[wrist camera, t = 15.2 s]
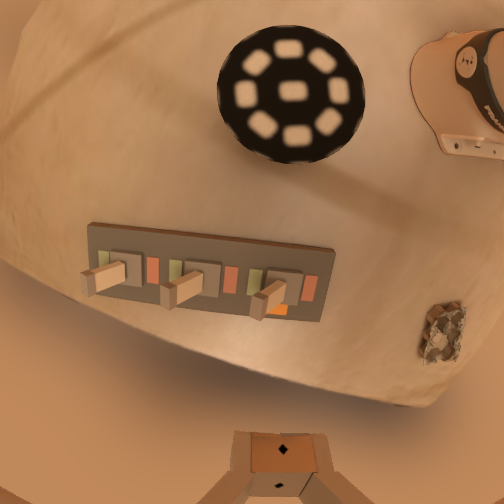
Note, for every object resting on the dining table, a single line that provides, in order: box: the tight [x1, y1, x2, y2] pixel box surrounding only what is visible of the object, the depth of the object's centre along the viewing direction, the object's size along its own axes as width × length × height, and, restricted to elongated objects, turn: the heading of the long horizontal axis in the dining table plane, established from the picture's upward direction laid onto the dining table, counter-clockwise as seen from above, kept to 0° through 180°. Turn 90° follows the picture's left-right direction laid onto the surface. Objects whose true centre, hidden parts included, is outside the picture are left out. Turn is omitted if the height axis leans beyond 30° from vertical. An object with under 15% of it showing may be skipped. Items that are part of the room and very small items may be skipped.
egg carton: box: [419, 301, 467, 365], centre depth 43 cm, size 11×8×4 cm
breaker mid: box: [160, 271, 203, 310], centre depth 35 cm, size 1×3×6 cm, turn 172°
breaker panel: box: [87, 223, 336, 322], centre depth 40 cm, size 32×10×2 cm, turn 83°
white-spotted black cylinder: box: [217, 25, 365, 164], centre depth 25 cm, size 8×8×20 cm
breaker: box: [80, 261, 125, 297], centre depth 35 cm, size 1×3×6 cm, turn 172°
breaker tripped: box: [249, 280, 287, 321], centre depth 36 cm, size 1×3×6 cm
